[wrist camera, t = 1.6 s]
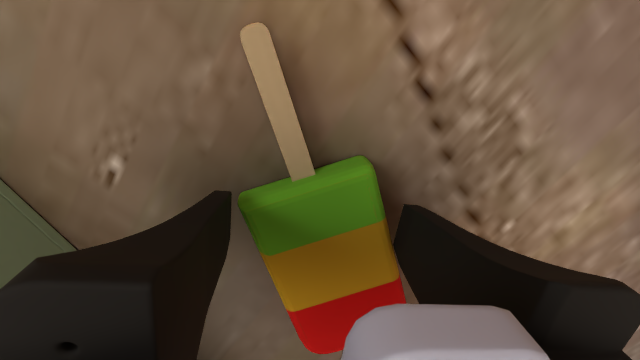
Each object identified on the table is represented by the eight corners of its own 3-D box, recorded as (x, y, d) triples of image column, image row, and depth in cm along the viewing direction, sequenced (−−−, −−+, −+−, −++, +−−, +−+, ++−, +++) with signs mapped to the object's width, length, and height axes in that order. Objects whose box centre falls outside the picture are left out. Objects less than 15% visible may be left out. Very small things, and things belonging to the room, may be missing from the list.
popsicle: (305, 333, 17) (308, 365, 15) (179, 49, 11) (160, 50, 9) (401, 303, 17) (415, 332, 15) (327, 1, 11) (336, -7, 9)
